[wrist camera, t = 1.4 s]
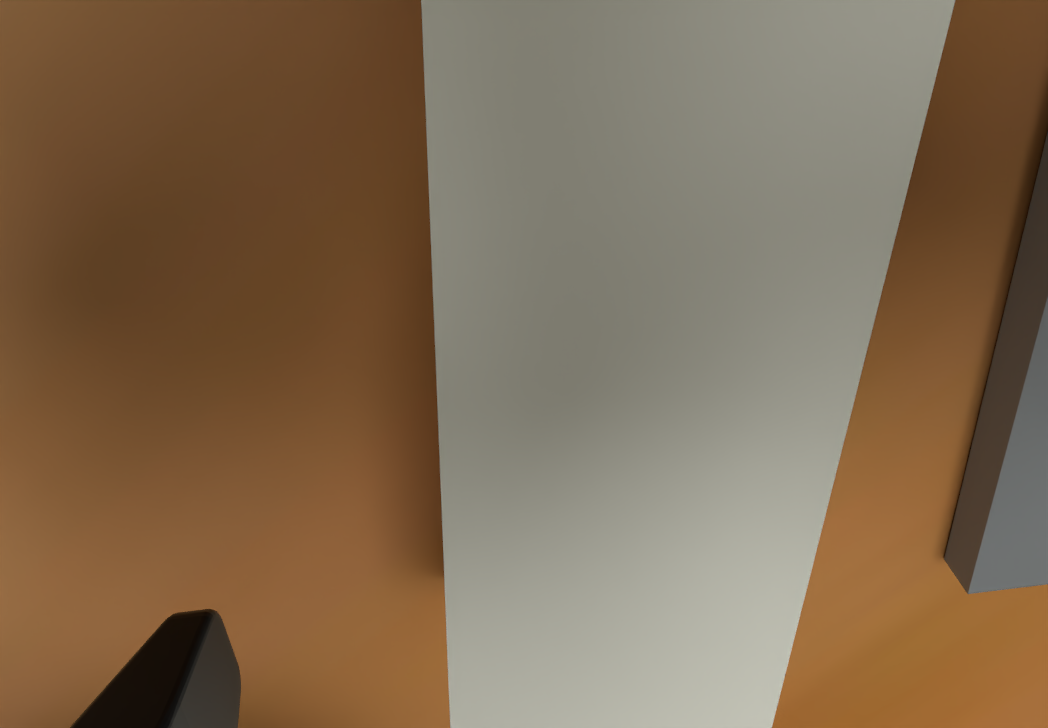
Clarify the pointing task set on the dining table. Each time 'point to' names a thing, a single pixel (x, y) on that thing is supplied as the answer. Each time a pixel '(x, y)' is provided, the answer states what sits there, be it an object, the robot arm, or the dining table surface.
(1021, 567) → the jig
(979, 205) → the dining table surface
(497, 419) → the white block
